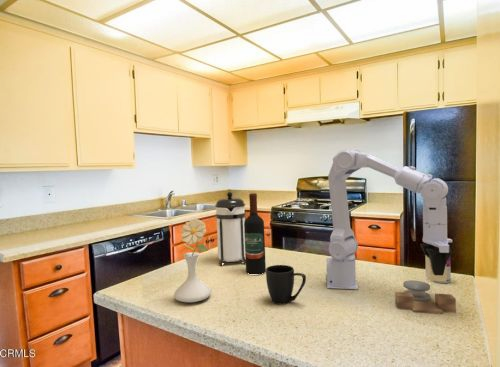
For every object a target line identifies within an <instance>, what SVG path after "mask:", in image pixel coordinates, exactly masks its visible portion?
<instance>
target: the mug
mask: <svg viewBox="0 0 500 367" xmlns="http://www.w3.org/2000/svg"><path fill="white" fill-rule="evenodd" d="M296 276H299V277H302V281H301V285H300V286H299V289H298V290H297V291H296V293H295V294H294V295H292V294H293V291H294V286H295V277H296ZM265 279H266V280H265V281H266V286H267V289H268V293H269V297H270V300H271V303H273V304H274V305H275V304H276V305H287V304H289V303H290V302H294V301H295V300H296V299H297V298H298V296H299V295H300V293H301V291H302V290H303V288H304V286H305V284H306V283H307V282H306V280H307V276H306V274H305V273H303V272H302V273H300V272H295V268H294V267H292V266H290V265H287V264H286V265H285V264H275V265H274V264H273V265H270V266H267V267H266V273H265Z"/></svg>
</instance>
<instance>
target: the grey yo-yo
mask: <svg viewBox="0 0 500 367" xmlns="http://www.w3.org/2000/svg"><path fill="white" fill-rule="evenodd" d="M402 284H403V288H405V289H407V290H404V291H403V292H409V293H411V294H412V295H413V297H414V301H423V302H429V301H430V300H431V294H429V293H428V291H430V290H431V285H430V284H429V283H427V282H424V281H420V280H406V281H403V283H402Z"/></svg>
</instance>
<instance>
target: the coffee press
mask: <svg viewBox="0 0 500 367" xmlns="http://www.w3.org/2000/svg"><path fill="white" fill-rule="evenodd" d="M226 196H227V197H225V198H220V199H218V200H217V201H216V203H215V204H214V207H215V212H216V213H215V218H216V233H217V234H216V236H217V240H216V241H217V257H218V259H219V260H220V261H219V263H218V265H219V264H221V265H222V263H226V262H228V263H229V262H230V263H231V262H233V263H234V262H240V263H241V262H244V263H246V259H245V234H244V221H245V220H246V211H245V206H246V203H245V202H244V200H243V199H242V198H239V197H233V193H232V192H231V191H230V192H227V194H226Z"/></svg>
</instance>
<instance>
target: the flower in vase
mask: <svg viewBox="0 0 500 367" xmlns="http://www.w3.org/2000/svg"><path fill="white" fill-rule="evenodd" d="M206 228H207V227H206V223H205V222H204V221H202V220H200V219H197V218H194V219H190V220H189V221H186V222H185V224H184V225H183V226H182V229H181V232H180V234H181V236H180V237H181V241H183V245H184V246H185V247H186V248H188V249H190V250H193V251H192V252H186V253H183V254H182V256H183V257H184V259H185V261H186V265H187V270H188V271H187V272H188V275H187V278H186V279H185V281H184V282H183V283H182V284H180V285H179V286H178V287H177V289H176V290H175V291H174V293H173V296H174V299H175V300H177V301H178V302H182V303H196V302H200V301H204V300H205V299H207V298H209V297H210V295H212V289H211V288H210V286H209V285H207V284H206V283H204V282H203V281H201V280H200V278H198V276H197V273H196V264H197V260H198V257H199V255H200V253H203V252H207V251H209V248H208V247H207V246H206V245H205V244H204V243H200V244H199V242H201V240H203V237H205V234H206V233H207V229H206ZM185 243H186V244H185ZM187 243H188V244H187ZM195 243H196V246H195V248H193V247H192V246H191V245H195ZM189 245H190V246H189ZM196 250H198V252H197V251H196Z"/></svg>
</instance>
